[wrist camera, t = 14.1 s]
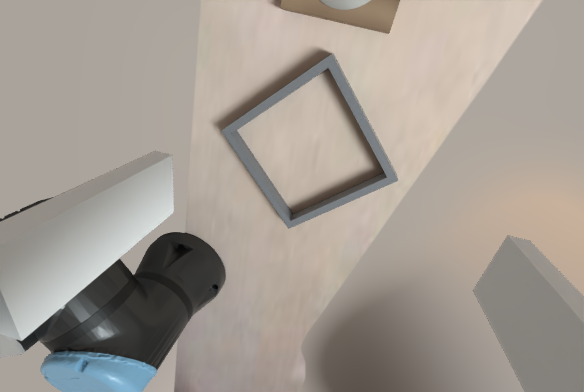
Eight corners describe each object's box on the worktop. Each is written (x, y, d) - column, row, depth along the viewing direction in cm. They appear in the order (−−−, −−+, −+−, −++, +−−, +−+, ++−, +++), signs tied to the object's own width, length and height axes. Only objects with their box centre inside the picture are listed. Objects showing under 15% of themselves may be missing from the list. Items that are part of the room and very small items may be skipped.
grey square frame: (291, 221, 44) (288, 228, 43) (227, 127, 40) (220, 130, 38) (396, 174, 38) (398, 180, 36) (333, 53, 33) (331, 53, 31)
